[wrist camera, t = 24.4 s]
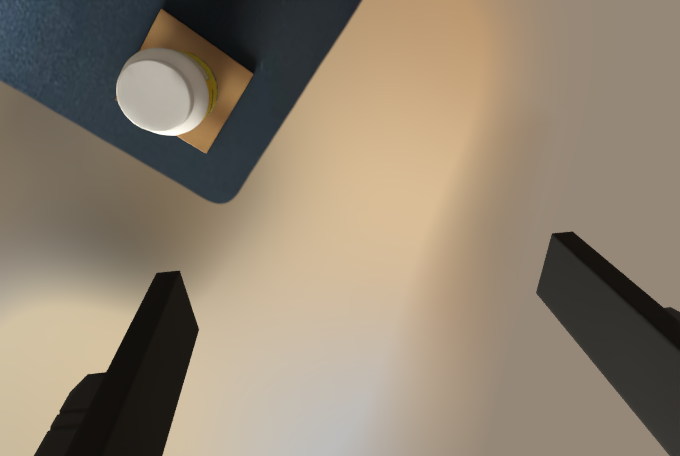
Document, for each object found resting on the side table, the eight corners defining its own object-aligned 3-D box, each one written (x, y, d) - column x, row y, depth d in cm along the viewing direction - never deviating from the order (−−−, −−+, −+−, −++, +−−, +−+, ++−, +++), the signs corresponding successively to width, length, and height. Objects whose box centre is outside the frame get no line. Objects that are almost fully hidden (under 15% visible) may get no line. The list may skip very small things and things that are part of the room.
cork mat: (162, 9, 34) (161, 8, 33) (253, 73, 37) (253, 74, 36) (116, 98, 36) (114, 99, 35) (206, 152, 39) (206, 153, 38)
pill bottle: (190, 135, 37) (162, 162, 27) (134, 85, 35) (80, 95, 25) (234, 88, 37) (221, 99, 27) (179, 34, 34) (143, 23, 24)
